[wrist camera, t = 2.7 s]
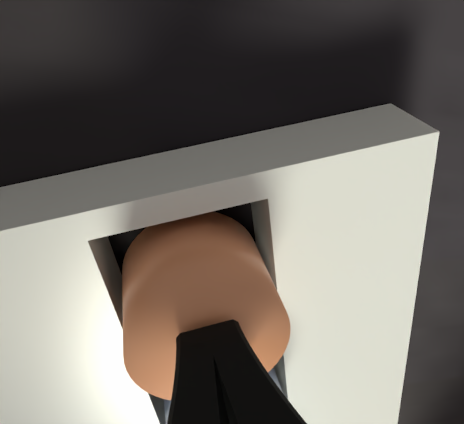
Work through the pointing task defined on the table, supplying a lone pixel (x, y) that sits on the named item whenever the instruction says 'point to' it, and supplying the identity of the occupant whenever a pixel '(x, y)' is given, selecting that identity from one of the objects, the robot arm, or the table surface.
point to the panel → (269, 246)
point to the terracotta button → (195, 295)
